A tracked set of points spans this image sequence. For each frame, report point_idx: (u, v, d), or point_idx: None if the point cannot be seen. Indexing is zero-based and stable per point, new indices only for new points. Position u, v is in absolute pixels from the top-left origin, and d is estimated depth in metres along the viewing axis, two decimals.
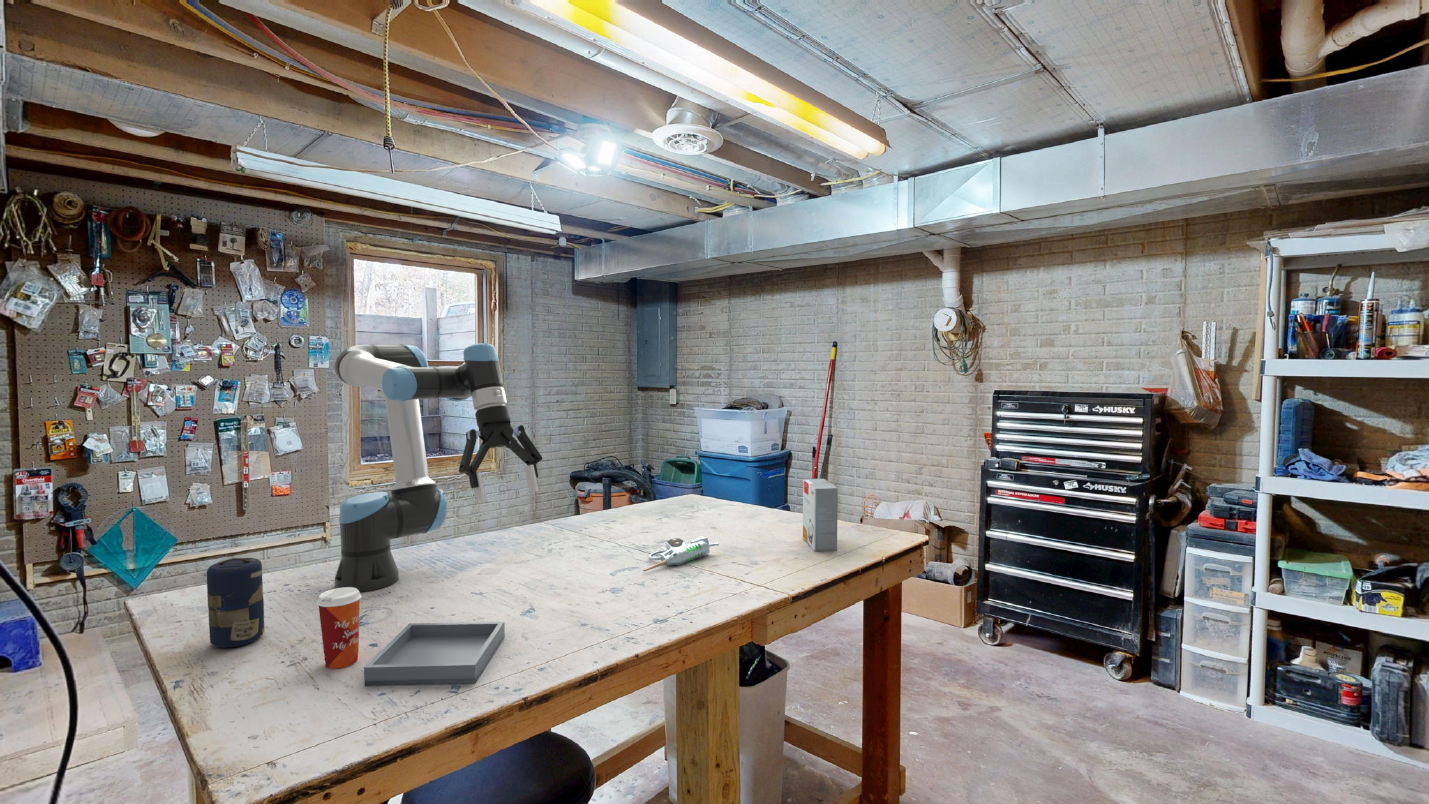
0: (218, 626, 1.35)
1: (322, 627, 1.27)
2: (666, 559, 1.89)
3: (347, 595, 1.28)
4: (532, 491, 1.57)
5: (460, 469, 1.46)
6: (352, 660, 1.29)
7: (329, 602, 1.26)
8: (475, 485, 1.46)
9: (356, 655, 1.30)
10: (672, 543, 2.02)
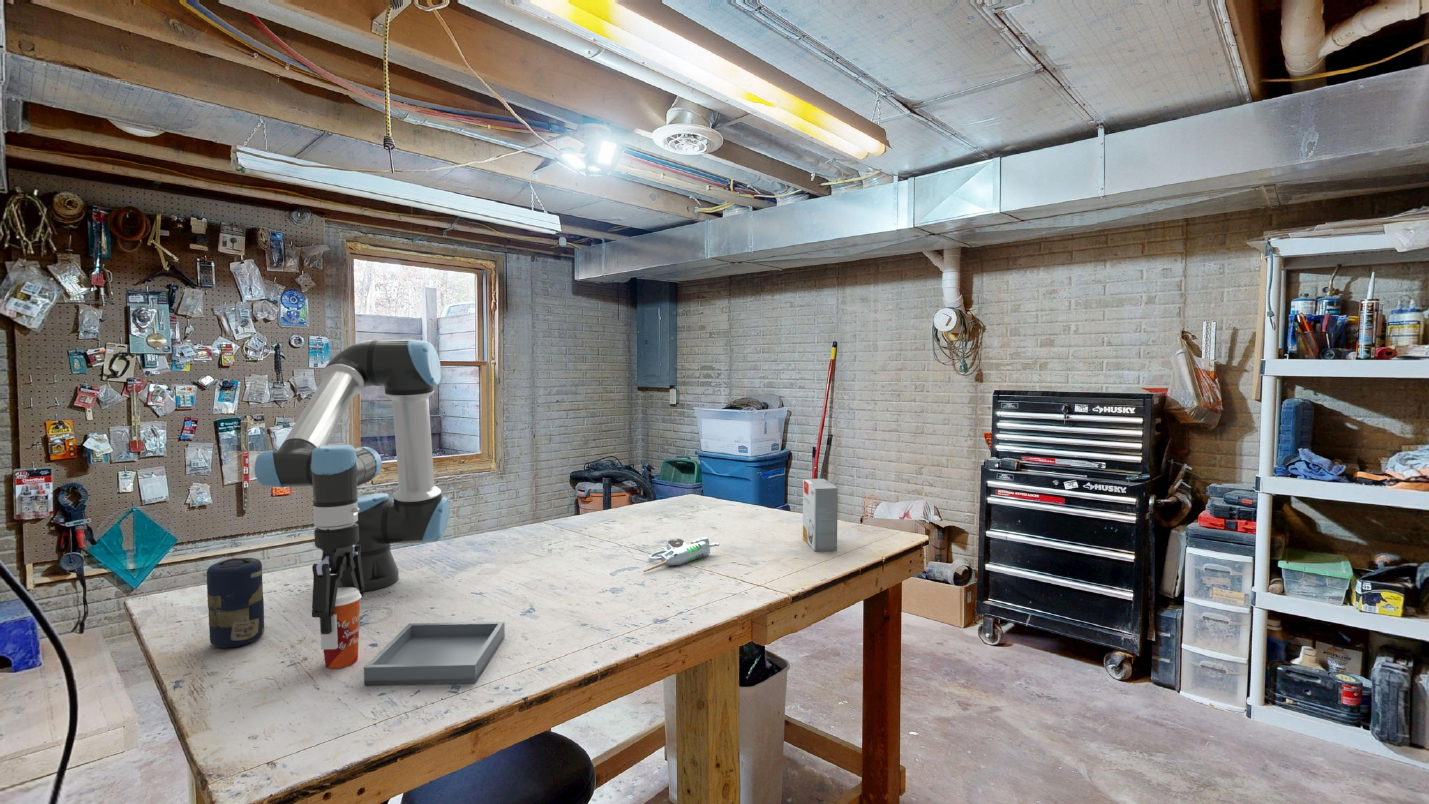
0: (218, 626, 1.35)
1: None
2: (666, 560, 1.89)
3: (347, 595, 1.28)
4: None
5: (316, 614, 1.22)
6: (352, 660, 1.29)
7: None
8: (329, 631, 1.24)
9: (356, 655, 1.30)
10: (673, 543, 2.02)
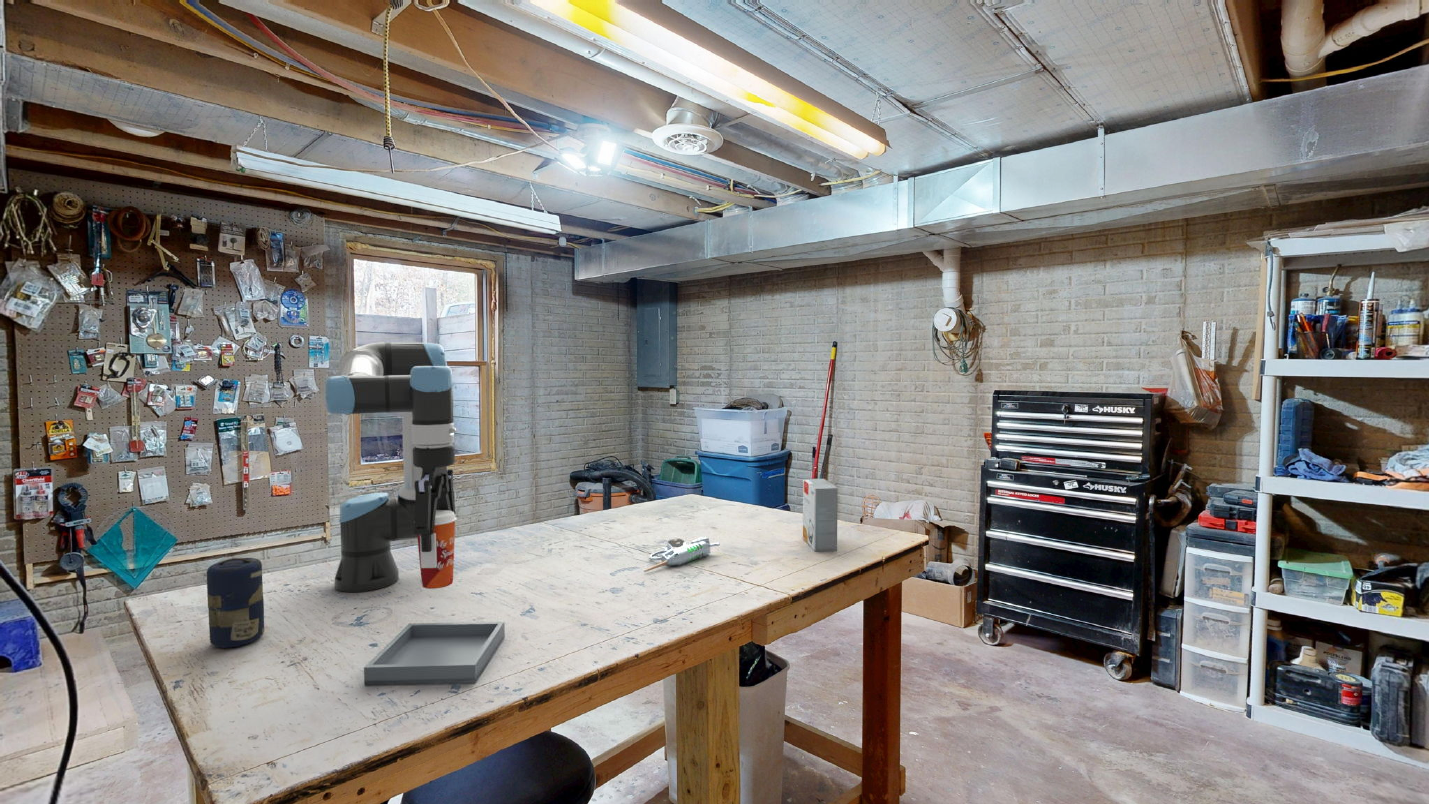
0: (218, 626, 1.35)
1: None
2: (667, 559, 1.89)
3: (445, 515, 1.28)
4: None
5: (418, 530, 1.22)
6: (449, 581, 1.29)
7: None
8: (430, 549, 1.24)
9: (452, 577, 1.30)
10: (673, 543, 2.02)
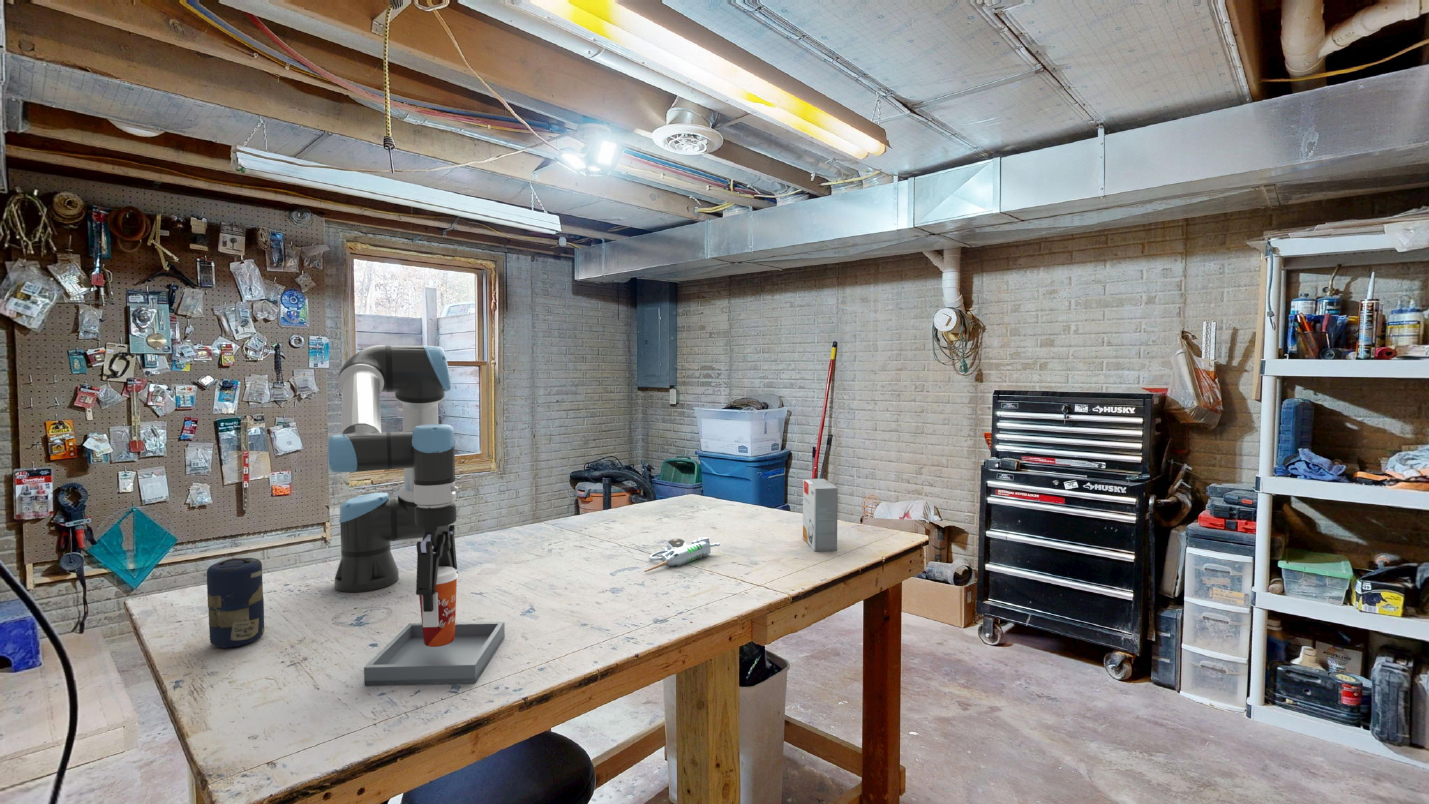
0: (218, 626, 1.35)
1: None
2: (667, 560, 1.89)
3: (446, 573, 1.29)
4: None
5: (420, 592, 1.23)
6: (450, 638, 1.30)
7: None
8: (431, 609, 1.25)
9: (453, 634, 1.31)
10: (673, 543, 2.01)
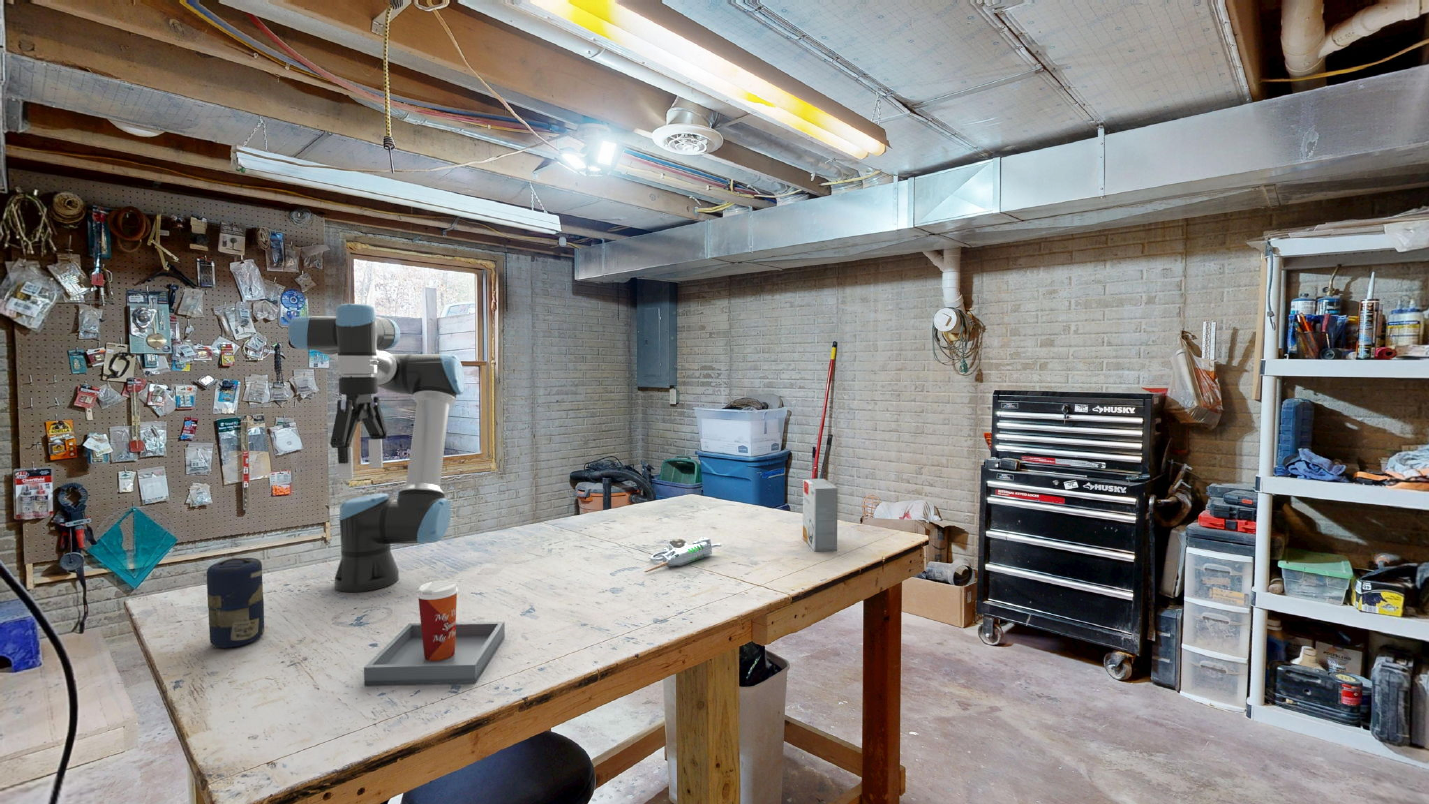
0: (218, 626, 1.35)
1: (422, 620, 1.28)
2: (668, 560, 1.88)
3: (446, 588, 1.29)
4: (374, 466, 1.51)
5: (334, 443, 1.34)
6: (451, 652, 1.30)
7: (430, 595, 1.27)
8: (346, 461, 1.37)
9: (454, 648, 1.31)
10: (674, 544, 2.01)
